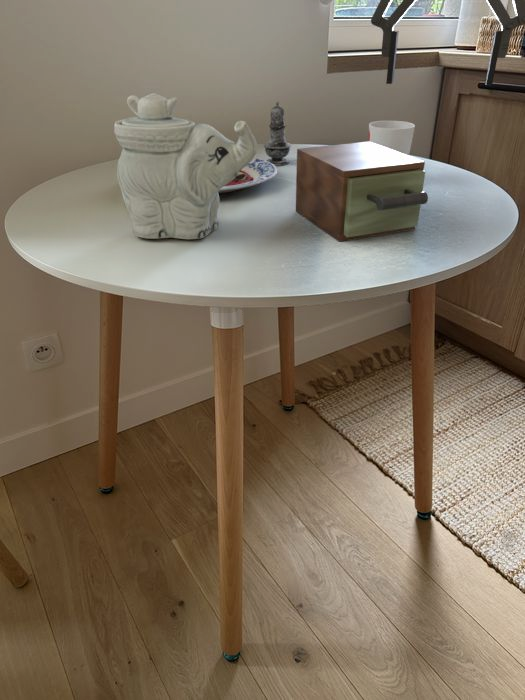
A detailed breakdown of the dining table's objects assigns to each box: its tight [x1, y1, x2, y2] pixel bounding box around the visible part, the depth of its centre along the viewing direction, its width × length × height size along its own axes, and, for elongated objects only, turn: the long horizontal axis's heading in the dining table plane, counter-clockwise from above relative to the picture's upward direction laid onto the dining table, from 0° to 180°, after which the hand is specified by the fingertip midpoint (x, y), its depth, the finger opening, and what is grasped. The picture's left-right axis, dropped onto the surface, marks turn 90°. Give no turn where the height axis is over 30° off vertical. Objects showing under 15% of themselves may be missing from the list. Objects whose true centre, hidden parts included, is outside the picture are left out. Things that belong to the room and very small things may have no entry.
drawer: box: [344, 169, 429, 237], centre depth 79 cm, size 18×12×8 cm, turn 22°
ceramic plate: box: [218, 157, 278, 194], centre depth 103 cm, size 26×26×3 cm
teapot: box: [113, 92, 258, 240], centre depth 76 cm, size 16×15×19 cm
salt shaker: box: [263, 100, 292, 167], centre depth 113 cm, size 6×6×12 cm
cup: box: [368, 120, 416, 156], centre depth 100 cm, size 8×8×10 cm
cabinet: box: [295, 140, 426, 242], centre depth 82 cm, size 15×13×10 cm
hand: (438, 84), depth 77 cm, fingers open, 13 cm apart
